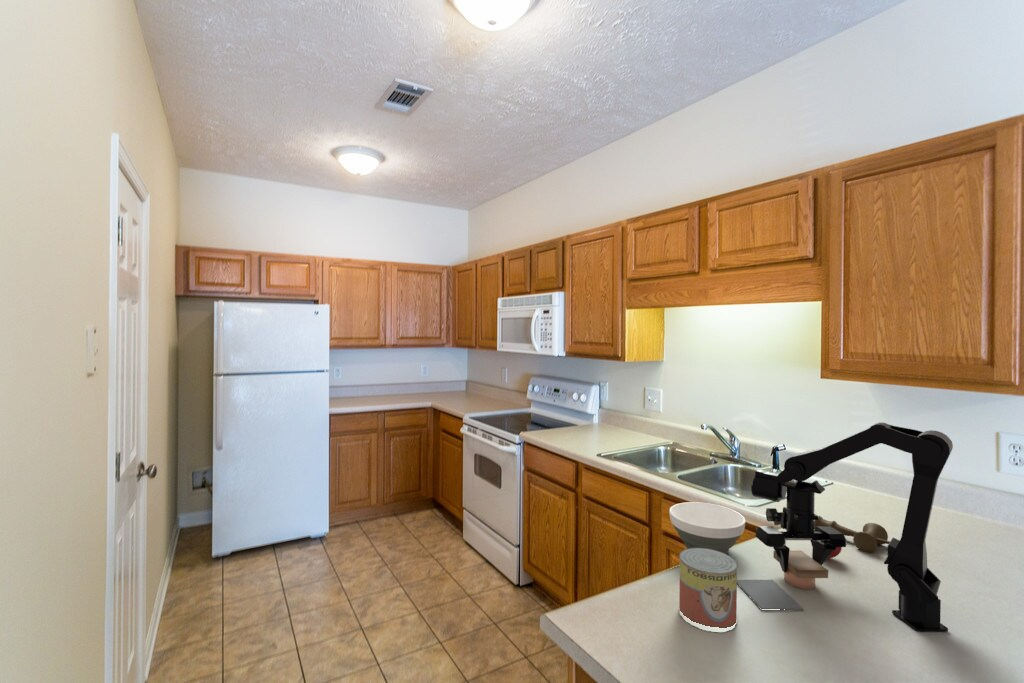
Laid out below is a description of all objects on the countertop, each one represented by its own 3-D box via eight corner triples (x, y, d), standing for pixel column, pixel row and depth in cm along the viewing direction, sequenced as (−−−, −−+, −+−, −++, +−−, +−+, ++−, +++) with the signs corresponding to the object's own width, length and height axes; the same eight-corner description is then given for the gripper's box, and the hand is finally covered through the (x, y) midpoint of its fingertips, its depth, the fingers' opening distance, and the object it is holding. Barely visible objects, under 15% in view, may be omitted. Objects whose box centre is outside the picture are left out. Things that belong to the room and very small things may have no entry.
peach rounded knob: (821, 589, 111) (821, 574, 111) (794, 588, 111) (794, 574, 111) (804, 575, 117) (804, 561, 117) (778, 575, 117) (778, 561, 117)
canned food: (691, 633, 94) (691, 573, 94) (671, 601, 105) (671, 547, 105) (747, 632, 94) (748, 572, 94) (721, 601, 105) (721, 547, 105)
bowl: (707, 529, 144) (707, 498, 144) (762, 557, 126) (762, 522, 126) (654, 539, 137) (654, 506, 137) (704, 570, 119) (704, 533, 119)
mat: (803, 610, 102) (803, 608, 102) (761, 610, 102) (761, 608, 102) (772, 581, 114) (772, 579, 114) (735, 581, 114) (735, 579, 114)
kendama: (822, 529, 147) (904, 550, 131) (809, 538, 141) (893, 561, 125) (821, 510, 147) (903, 529, 131) (808, 518, 141) (892, 539, 125)
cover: (828, 578, 109) (828, 570, 109) (797, 577, 109) (797, 570, 109) (801, 557, 119) (801, 550, 119) (773, 557, 119) (773, 550, 119)
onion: (845, 564, 122) (846, 534, 122) (820, 562, 124) (821, 532, 123) (835, 554, 128) (835, 525, 128) (811, 552, 129) (811, 523, 129)
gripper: (817, 495, 122) (816, 556, 122) (744, 495, 122) (744, 556, 122) (848, 511, 111) (847, 578, 111) (768, 511, 110) (767, 578, 111)
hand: (799, 571), depth 114 cm, fingers closed on cover, 7 cm apart
